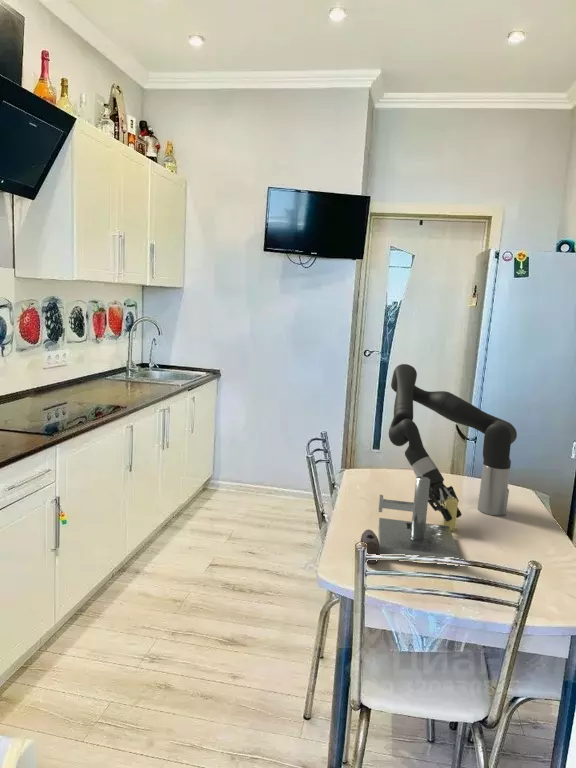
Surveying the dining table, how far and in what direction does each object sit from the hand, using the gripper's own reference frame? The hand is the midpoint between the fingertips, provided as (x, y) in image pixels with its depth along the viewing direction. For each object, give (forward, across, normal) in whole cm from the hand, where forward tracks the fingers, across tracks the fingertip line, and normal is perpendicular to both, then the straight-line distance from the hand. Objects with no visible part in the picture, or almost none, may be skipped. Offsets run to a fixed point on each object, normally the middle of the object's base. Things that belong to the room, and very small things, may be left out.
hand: (454, 518), depth 180 cm
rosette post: (+3, +21, -3) cm, 22 cm away
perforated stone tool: (+1, +38, -6) cm, 39 cm away
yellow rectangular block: (+2, 0, -4) cm, 5 cm away
